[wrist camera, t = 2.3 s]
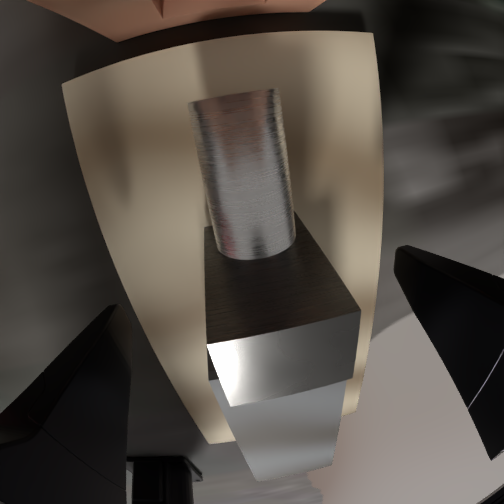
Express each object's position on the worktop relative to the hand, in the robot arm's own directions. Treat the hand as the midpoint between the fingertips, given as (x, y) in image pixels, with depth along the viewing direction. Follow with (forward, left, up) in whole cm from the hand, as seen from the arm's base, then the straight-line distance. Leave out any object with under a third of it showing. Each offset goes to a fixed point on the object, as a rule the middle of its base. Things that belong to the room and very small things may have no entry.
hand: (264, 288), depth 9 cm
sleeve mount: (-4, 0, -4) cm, 6 cm away
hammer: (-3, 0, -3) cm, 4 cm away
